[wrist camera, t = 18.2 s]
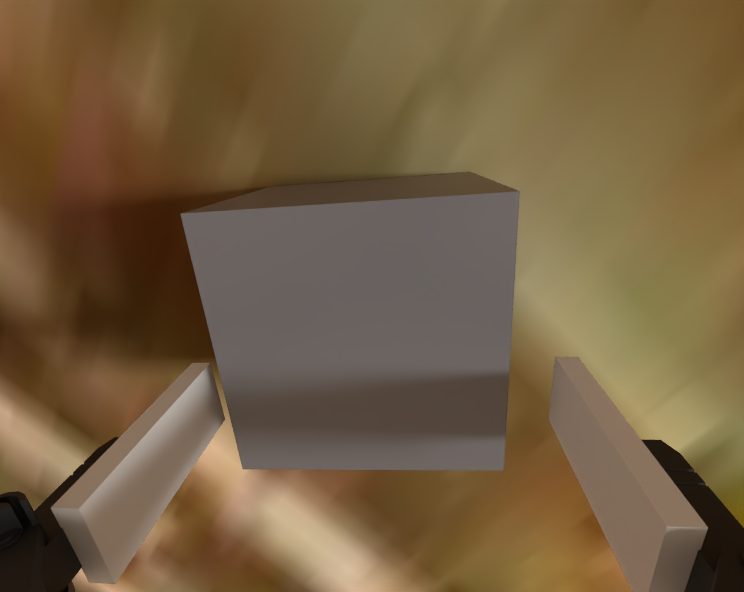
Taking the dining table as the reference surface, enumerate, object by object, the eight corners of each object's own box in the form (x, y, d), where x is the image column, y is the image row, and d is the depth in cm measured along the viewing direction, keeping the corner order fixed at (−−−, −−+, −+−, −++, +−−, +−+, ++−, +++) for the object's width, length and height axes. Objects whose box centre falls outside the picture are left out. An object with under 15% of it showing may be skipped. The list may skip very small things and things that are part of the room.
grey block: (271, 186, 20) (180, 213, 12) (471, 172, 19) (519, 191, 11) (298, 358, 24) (242, 469, 16) (468, 354, 23) (503, 470, 15)
